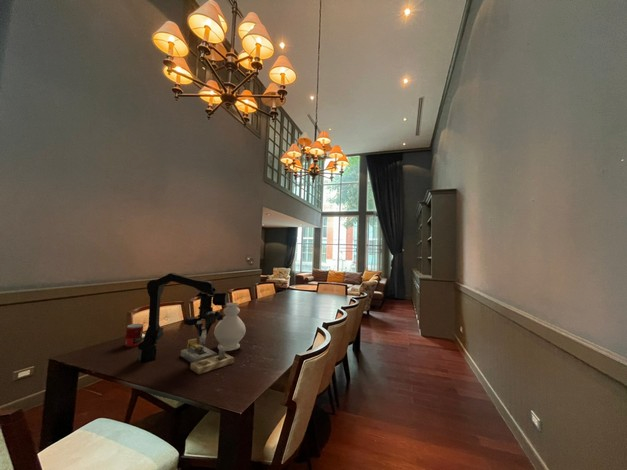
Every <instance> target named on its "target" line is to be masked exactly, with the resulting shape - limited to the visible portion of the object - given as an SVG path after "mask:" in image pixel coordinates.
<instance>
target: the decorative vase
mask: <svg viewBox="0 0 627 470" xmlns="http://www.w3.org/2000/svg"><path fill="white" fill-rule="evenodd" d="M239 305H240V304H239V302H227V304H226V306H225V308H224V309H223V315H225V316H223V320H219V321H218V322H217V324H216V325H215V328H214V331H213V335H214V337H215V339H216V341H217V342H218V343H219V344H218V345H217V349H218V351H219V350H225V352H228V351H229V352H230V351H234V350H235V351H236V350H238V349H239V348H240V347H241V345H240V342H241V340H242V339H243V338H244V336H245V335H246V326H245V322H243V321H242V319H241V318H240V317H239V316H238V314H240V312H241V310H240V308H239V307H238V306H239Z"/></svg>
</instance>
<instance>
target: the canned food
mask: <svg viewBox="0 0 627 470" xmlns="http://www.w3.org/2000/svg"><path fill="white" fill-rule="evenodd" d="M143 331H144V323H143V324H142V323H131V324H127V326H126V334H125V340H124V341H125V342H124V345H125V347H126V348H135V347H138V345H139V344H140V343H141V342H142V341H143V333H144V332H143Z"/></svg>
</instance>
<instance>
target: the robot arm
mask: <svg viewBox="0 0 627 470" xmlns="http://www.w3.org/2000/svg"><path fill="white" fill-rule="evenodd" d="M172 282H174V283H178V284H180V285H184V286H188V287H192V288H194V289H196V290H197V291H199V293H198V294H196V297H198V298H199V297H200V300H199V306H198V308H197V309H198V310H199V312H198V314H197V317H194V316H189V317H185V318H184V320H183V324H184V325H186V326H194V327H195V329H196V331H197V334H198V337H199V338H200V337H201V330H202V327H203V326H204V327H206V328H207V332H206V336H208V334H209V331H210V329H211V327H212V325H213V324H215V323H216V322H217V321H218V322H220V320H223V318H224V314H222V313H221V311H219V310H217V311H214V307H212V305H214V306H225V307H227V306H226V304H227V303H228V294H227V292H218V290H217V289H216V287H215V284H214V282H213V281H212V280H208V279H207V280H206V279H205V280H204V279H196V278H192V277H188V276H186V275H182V274H177V273H176V272H170V273H168V274H166V275H165V276H162V277H159V278H155V279H150V280H149V281H148V282H147V283H146V290H147V294H148V296H149V305H148V306H149V309H148V310H149V311H148V326H147V328H146V331H145V332H144V333H145V334H144V336H143V337H144V338H143V340H142V342H141V343H140V344H139V345H138V346H137V349H138V357H137V361H139V362H140V363H142V364H143V363H146V362H150V361H154V360H157V346H156V345H157V344H158V342H159V341H160V340H162V338H163V336H164V327H161V326H160V315H161V314H160V313H161V297H162V294H163V292H164V290H165V289H164V288H165V286H166V285H168V284H170V283H172ZM202 322H204V323H202ZM204 324H205V325H204Z"/></svg>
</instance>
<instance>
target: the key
mask: <svg viewBox="0 0 627 470" xmlns="http://www.w3.org/2000/svg"><path fill="white" fill-rule="evenodd" d="M190 346H192V347H194V348H196V351H199V350H201V346H200V345H199V343H198V339H197V338H191V339H187V346H186V349H188V348H190Z"/></svg>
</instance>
